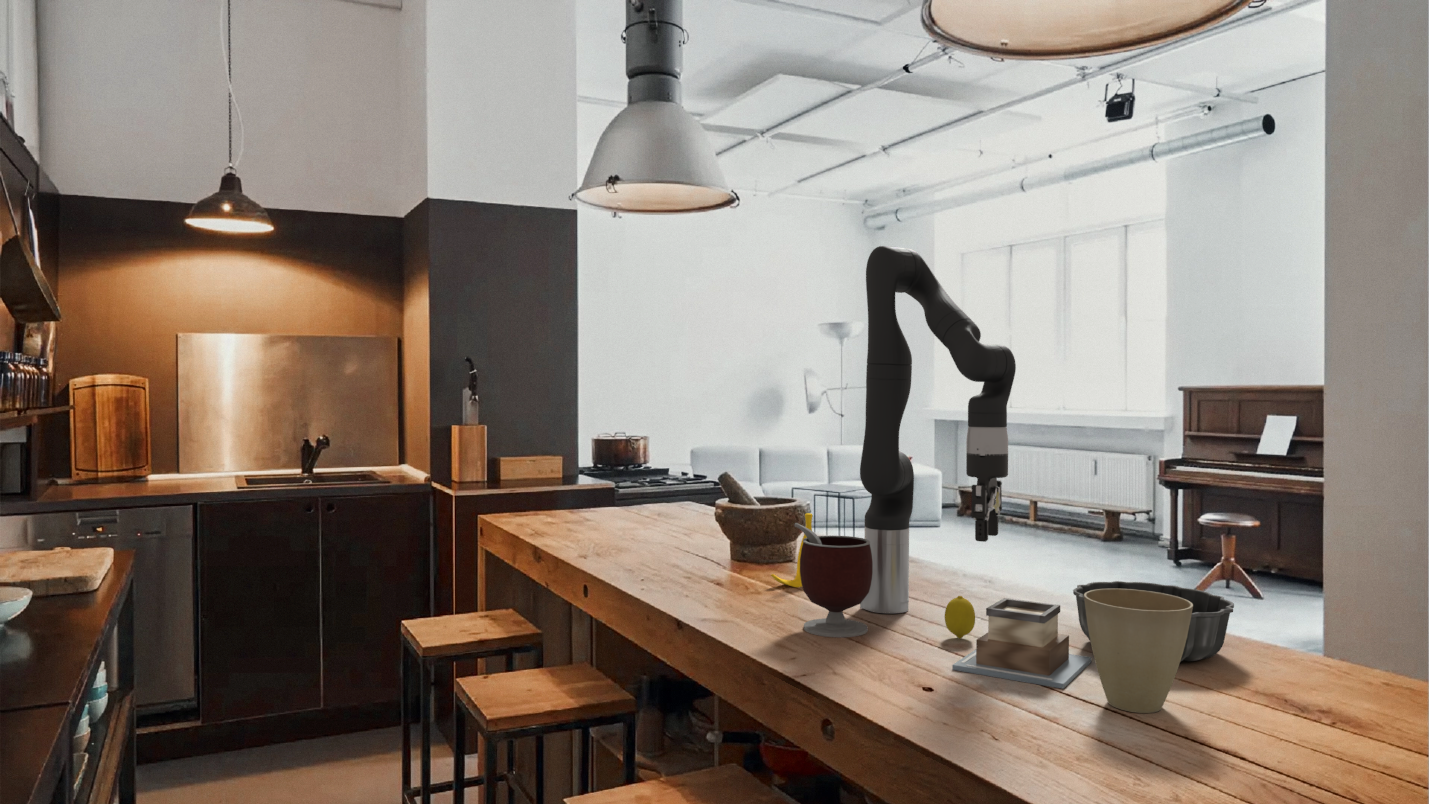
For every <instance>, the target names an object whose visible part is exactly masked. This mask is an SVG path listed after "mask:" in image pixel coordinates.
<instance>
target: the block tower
mask: <svg viewBox="0 0 1429 804" xmlns="http://www.w3.org/2000/svg"><path fill="white" fill-rule="evenodd" d="M1060 613H1061V605H1060V604H1056V603H1055V604H1053V603H1046V602H1039V601H1030V600H1021V599H1016V598H1015V599H1014V598H1007V597H1004V598H1001V599H1000V600H999V601H997V602H995V603H993V604H991V605H989V606H988V607H986V609H985V616H986V617H988V618H987V619H988V625H987V626H988V628H987V629H988V632H986V633H985V634H983V635H981V636H980V637H979V638H977V639H976V640H975V641H976V647H975V648H976V649H975V650H976V664H982V665H988V666H994V667H1000V668H1006V669H1012V670H1018V671H1024V672H1030V673H1036V674H1042V675H1048V676H1050V675H1051V674H1052V673H1053V672H1054V671H1055V670H1056V669H1057V668H1059V667H1060V666H1061V665H1062V664H1063V663H1064V662H1065V661H1066V660H1068V659H1069V654H1070V635H1069V634H1064V633H1059V632H1058V631H1059V625H1058V624H1059V614H1060Z"/></svg>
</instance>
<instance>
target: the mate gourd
mask: <svg viewBox="0 0 1429 804" xmlns="http://www.w3.org/2000/svg"><path fill="white" fill-rule="evenodd" d="M793 526H794V527H795V528H797V529H799V530H800V531H801V532H802V533H803V535H804V534H805V535H806V537H807V538H805V539H803V538H802V539H803V546H802V550H801V557H800V576H801V583H802V587H801V588H802V590H803V592H804V594H805V595H806V597H807V598H808V599H809V601H810V602H811V603H812V604H814V605H817V606H819V607H821V608H822V609H825V610H827V611H828V613H827V615H826V617H823V618H815V619H811V620H807V621H805V622H804V623H803V630H804V632H807V633H809V634H811V635H816V636H819V637H825V638H852V637H858V636H860V637H861V636H862V635H865V634H867V633H868V632H869V631H868V629H869V627H868V625H867V624H866V623H864V622H861V621H859V620H854V619H848V618H846V617H845V615H844V613H843V611H846V610H848V609H851V608H854V607H856V606H858V605H859V606H860V604H861V602H862V601H863V600H864V598H865V597H866V596H867V594H868V593H869V590H870V586H871V581H872V573H873V561H872V553H871V548H870V541H869V540H867V539H865V538H862V537H859V536H852V535H851V536H850V535H849V536H848V535H817V534H816V532H814V531H813V530H812V531H811V530H810V529H808V528H806V526H805V525H801V524H800V523H798V522H795V523H794V525H793Z"/></svg>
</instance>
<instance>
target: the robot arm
mask: <svg viewBox="0 0 1429 804" xmlns="http://www.w3.org/2000/svg"><path fill="white" fill-rule="evenodd" d="M867 258H868V259H867V261H866V262H867V263H866V267H865V269H866V270H865V283H866V284H865V285H866V289H865V290H866V301H867V302H866V303H867V323H868V324H867V358H866V371H865V373H866V375H865V377H866V380H865V384H866V386H865V390H866V393H865V428H864V437H863V444H862V445H863V446H862V451H861V457H860V464H859V465H860V466H859V477H860V481H861V484H862V487H864V489H865V490H866V491H867V492H868V493H869V494H870V495H871V497H870V502H869V503H870V504H869V507H868V509H866V512H865V514H864V539H867V540H869V541H870V548H871V553H872V561H873V573H872V581H871V586H870V590H869V593H868V594H867V596H866V597H865V598H864V600H863V601H862V602H861V604H859V608H860V609H862V610H866V611H869V612H872V613H878V614H901V613H906V612H908V611H909V602H910V601H909V599H910V598H909V594H910V593H909V592H910V591H909V590H910V589H909V588H910V585H909V583H910V579H909V577H910V519H911V518H912V517H911V516H912V512H913V507H914V506H913V505H914V487H915V486H914V485H915V483H914V482H915V473H914V467H913V464H912V461H911V460H910V458H909V457H908V456H907V455H906V454H905V453H904V452H902V451H900V430H901V429H900V427H901V424H902V419H903V416H904V413H905V410H906V407H907V404H908V400H909V398H910V394H911V393H910V392H911V389H912V388H911V387H912V369H913V368H912V367H913V359H912V358H913V355H912V353H911V349H910V346H909V344H908V341H907V339H906V337H905V335H904V333H903V331H902V328H901V326H900V324H899V321H898V318H897V312H896V293H898V294H899V293H901V294H902V293H905V294H906V295H909V296H910V297H911V298H913V299H914V300H915V301H917V302H918V303H919V305H920V306H921V307H922V309H923V313H924V318H925V321H926V324H927V326H928V328H929V330H930V332H932V334H933V335H934V336H935V337H936V339H938V341H939V342H941V344H942V345H943V346H944V347H945V348H947V350H948V352H949V354H950V357H951V358H952V360H953V362H954V364H955V366H956V368H957V370H958V372H959V373H960V374H961V375H962V376H963V377H964V378H966V379H968V380H969V381H972V382H975V383H980V382H981V383H983V385H982V390H981V392H980V393H979V394H976V395H974V396H972V397H970V398H969V400H968V403H967V404H968V405H967V432H966V453H965V454H966V455H965V456H966V457H965V459H966V463H965V464H966V469H965V470H966V471H965V472H966V476H967V477H970V478H976V479H977V480H976V484H972V485H971V488H970V489H971V513H970V516H971V518H973V520H974V525H975V526H974V529H975V530H974V532H975V534H974V539H975V541H977V542H982V543H986V542H988V541H989V536H990V537H991V536H993V537H995V536H998V535H999V516H1000V514H1001V512H1002V510H1003V503H1002V500H1003V499H1002V491H1003V490H1002V484H1003V482H1002V480H1001V479H1003V478H1006V477H1008V475H1009V435H1008V427H1007V425H1008V420H1007V419H1008V411H1007V410H1008V408H1007V407H1008V403H1009V399H1010V396H1011V392H1012V388H1013V384H1014V379H1015V375H1016V369H1017V367H1016V359H1015V356H1014V354H1013V352H1012V351H1011V349H1010V348H1009V347H1007V346H1006V345H1002V344H989V343H981V342H980V341H981V340H980V339H981V337H982V333H981V329H980V328H979V327H978V325H977V324H976V323H975V322H974V321H973V320H972V318H970V317H969V315H967V313H965V311H963V310H962V309H961V307H959V306H958V305H957V303H955V302H954V300H953V299H952V298H951V297H950V295H949V294H948V293H947V292H946V290H945V289H944V288H943V286H942V285H941V283H940V281H939V280H938V279H937V277H936V276H935V274H934V273H933V271H932V270H931V268H930V266H929V265H928V264H927V263H926V262H927V261H925V259H924V258H923V257H922V256H921V255H920V253H918V251H915V250H914V249H911V248H906V247H898V246H897V247H896V246H887V245H880V246H877V247H876V248H873V250H872V251H871V252H870V254H869V256H868V257H867Z"/></svg>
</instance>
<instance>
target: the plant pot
mask: <svg viewBox="0 0 1429 804" xmlns="http://www.w3.org/2000/svg"><path fill="white" fill-rule="evenodd" d="M1084 600H1085V609H1086V617H1087V625H1088V631H1089V636H1090V640H1089V642H1090V641H1091V642H1090V644H1091V649H1092V654H1093V657H1094V662H1095V666H1096V669H1097V673H1098V676H1099V680H1100V682H1101V685H1102V689H1103V691H1104V696H1105V698H1106V701H1107V703H1108V704H1109V705H1110V706H1112V707H1114V708H1116V709H1118V710H1122V711H1126V712H1131V713H1140V714H1153V713H1154V714H1155V713H1157V712H1159V711H1161V710H1162V708H1163V706H1164V704H1165V702H1166V701H1167V697H1168V695H1169V692H1170V690H1171V688H1172V686H1173V683H1174V681H1175V677H1176V675H1177V672H1178V670H1179V666H1180V663H1181V662H1182V661H1181V657H1182V654H1183V651H1184V647H1185V643H1186V639H1187V635H1188V630H1189V625H1190V620H1191V615H1192V609H1193V604H1192V603H1191V602H1190V601H1188V600H1186V599H1183V598H1180V597H1177V596H1173V595H1168V594H1164V593H1158V592H1151V591H1144V590H1134V589H1096V590H1091V591H1088V592H1086V593H1085V594H1084ZM1180 661H1181V662H1180Z"/></svg>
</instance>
